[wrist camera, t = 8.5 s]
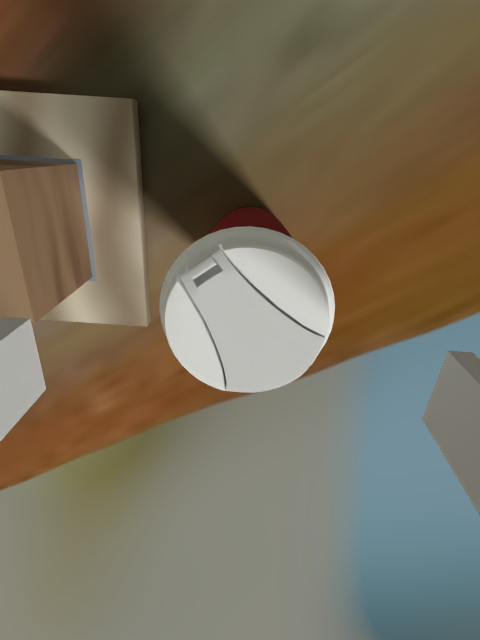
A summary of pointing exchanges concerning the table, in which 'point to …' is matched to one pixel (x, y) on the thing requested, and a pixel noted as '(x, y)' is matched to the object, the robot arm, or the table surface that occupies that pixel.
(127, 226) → the blueprint plate
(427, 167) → the table surface
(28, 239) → the walnut block
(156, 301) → the table surface
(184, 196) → the table surface
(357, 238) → the table surface
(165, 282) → the paper cup
